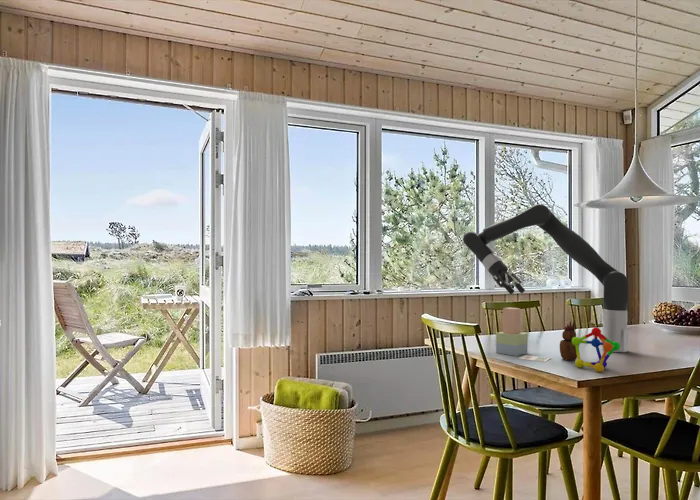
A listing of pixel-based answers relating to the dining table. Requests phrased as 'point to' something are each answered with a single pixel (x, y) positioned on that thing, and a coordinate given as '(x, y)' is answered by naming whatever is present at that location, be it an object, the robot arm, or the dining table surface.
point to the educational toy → (595, 342)
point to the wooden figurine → (568, 343)
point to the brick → (511, 320)
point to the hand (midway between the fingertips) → (518, 292)
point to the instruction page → (534, 358)
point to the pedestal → (511, 343)
